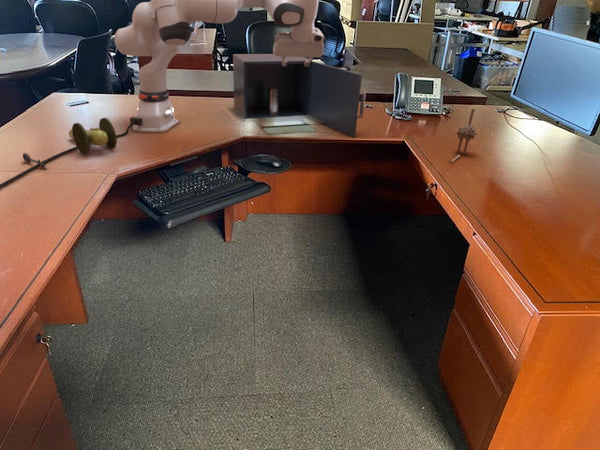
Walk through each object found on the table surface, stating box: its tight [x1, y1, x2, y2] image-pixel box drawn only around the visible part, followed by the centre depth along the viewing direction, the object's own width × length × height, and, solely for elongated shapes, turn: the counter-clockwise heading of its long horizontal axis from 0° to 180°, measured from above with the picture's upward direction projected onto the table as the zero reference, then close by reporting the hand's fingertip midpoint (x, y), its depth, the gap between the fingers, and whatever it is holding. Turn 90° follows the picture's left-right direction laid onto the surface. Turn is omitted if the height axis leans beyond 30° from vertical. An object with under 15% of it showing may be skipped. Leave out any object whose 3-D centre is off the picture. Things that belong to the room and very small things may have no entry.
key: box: [22, 152, 46, 170], centre depth 149 cm, size 12×1×3 cm, turn 59°
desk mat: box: [261, 123, 317, 136], centre depth 202 cm, size 18×22×1 cm
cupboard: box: [232, 53, 313, 120], centre depth 213 cm, size 20×32×26 cm, turn 111°
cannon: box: [68, 117, 118, 156], centre depth 165 cm, size 25×12×11 cm, turn 48°
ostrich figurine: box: [451, 107, 478, 163], centre depth 173 cm, size 17×7×18 cm, turn 144°
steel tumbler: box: [267, 86, 280, 115], centre depth 213 cm, size 6×6×12 cm
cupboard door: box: [308, 60, 367, 138], centre depth 200 cm, size 7×32×26 cm, turn 36°
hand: (295, 65), depth 181 cm, fingers open, 8 cm apart
